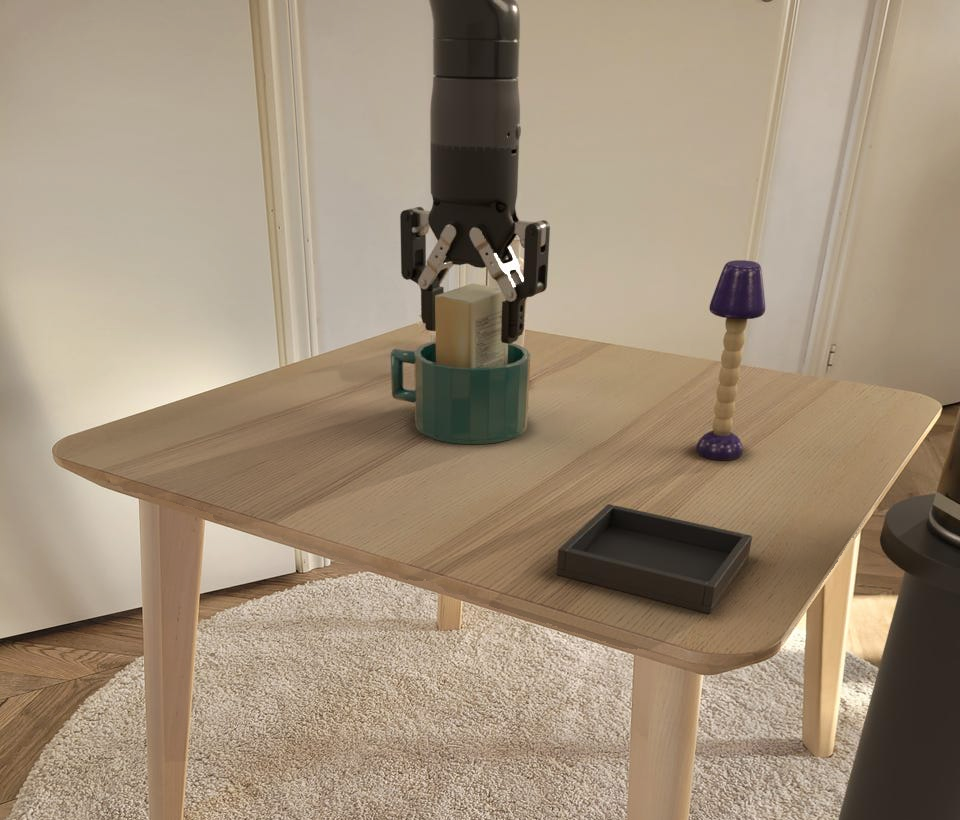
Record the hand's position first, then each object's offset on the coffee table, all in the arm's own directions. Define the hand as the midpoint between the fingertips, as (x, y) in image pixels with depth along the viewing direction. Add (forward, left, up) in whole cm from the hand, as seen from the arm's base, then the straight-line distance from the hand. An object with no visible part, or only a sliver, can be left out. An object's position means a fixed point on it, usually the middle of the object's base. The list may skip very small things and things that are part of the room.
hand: (471, 335), depth 93 cm
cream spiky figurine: (+15, -20, -9) cm, 27 cm away
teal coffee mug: (+2, 0, -9) cm, 9 cm away
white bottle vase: (+3, -14, -9) cm, 17 cm away
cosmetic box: (0, 0, -8) cm, 8 cm away
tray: (-26, +20, -9) cm, 34 cm away
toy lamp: (-23, -5, -9) cm, 25 cm away
